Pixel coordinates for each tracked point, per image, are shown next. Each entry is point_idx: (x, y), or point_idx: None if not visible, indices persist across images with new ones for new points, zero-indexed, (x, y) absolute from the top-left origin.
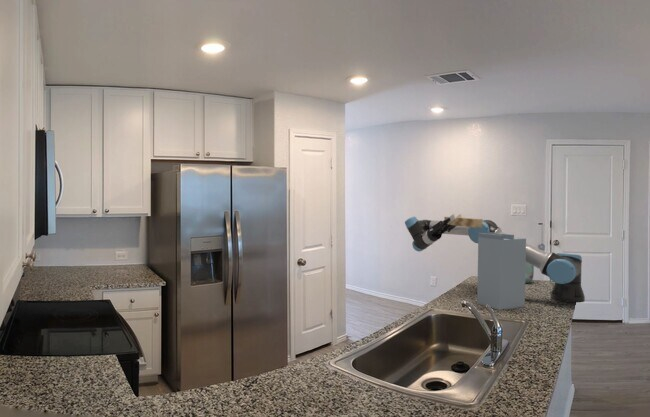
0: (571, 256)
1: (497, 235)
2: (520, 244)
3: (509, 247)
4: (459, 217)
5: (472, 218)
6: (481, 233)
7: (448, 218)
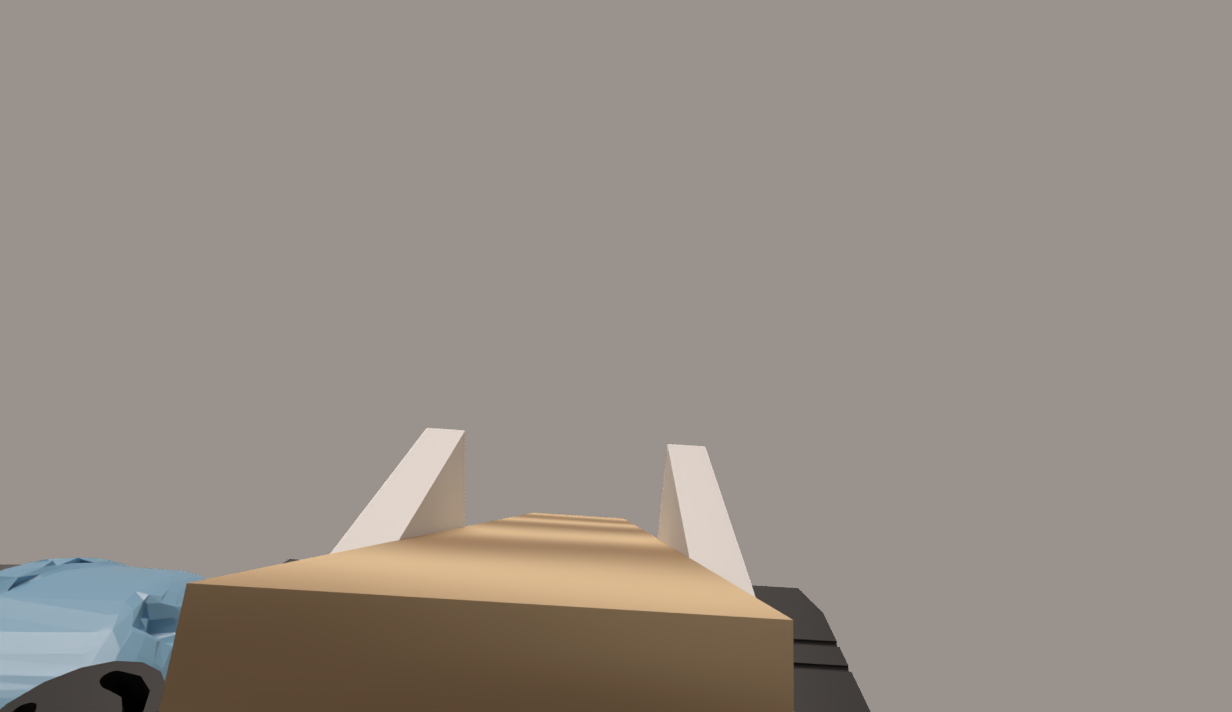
0: None
1: None
2: None
3: None
4: (465, 531)
5: (523, 517)
6: None
7: (795, 601)
